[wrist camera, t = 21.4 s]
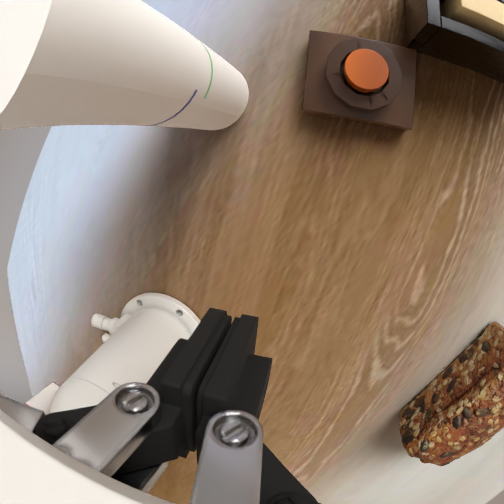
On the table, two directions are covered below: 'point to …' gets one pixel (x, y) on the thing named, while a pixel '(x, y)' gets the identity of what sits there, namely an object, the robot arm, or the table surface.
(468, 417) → the bread
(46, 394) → the cup
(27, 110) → the cylindrical container
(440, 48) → the toaster
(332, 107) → the control block
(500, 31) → the toast
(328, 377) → the table surface
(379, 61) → the button
